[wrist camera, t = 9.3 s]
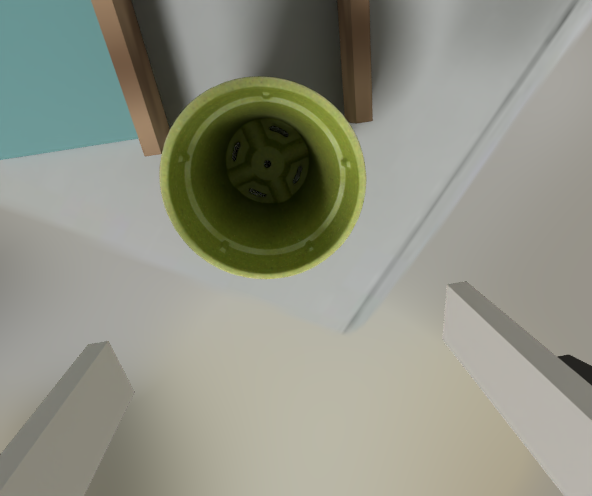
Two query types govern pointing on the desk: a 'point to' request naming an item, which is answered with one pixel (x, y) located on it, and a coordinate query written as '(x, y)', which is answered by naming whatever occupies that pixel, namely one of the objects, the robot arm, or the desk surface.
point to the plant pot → (262, 177)
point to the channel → (144, 93)
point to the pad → (57, 80)
